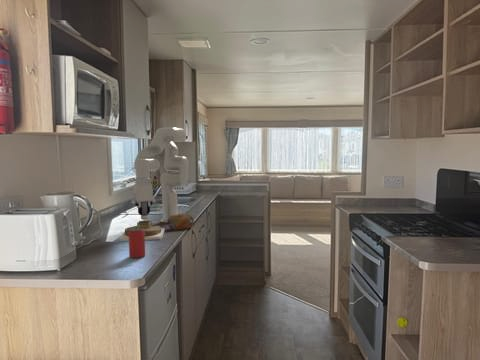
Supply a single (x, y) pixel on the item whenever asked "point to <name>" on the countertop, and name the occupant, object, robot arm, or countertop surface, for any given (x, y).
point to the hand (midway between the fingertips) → (144, 213)
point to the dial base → (150, 237)
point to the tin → (180, 221)
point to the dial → (145, 228)
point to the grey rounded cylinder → (144, 210)
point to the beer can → (136, 243)
